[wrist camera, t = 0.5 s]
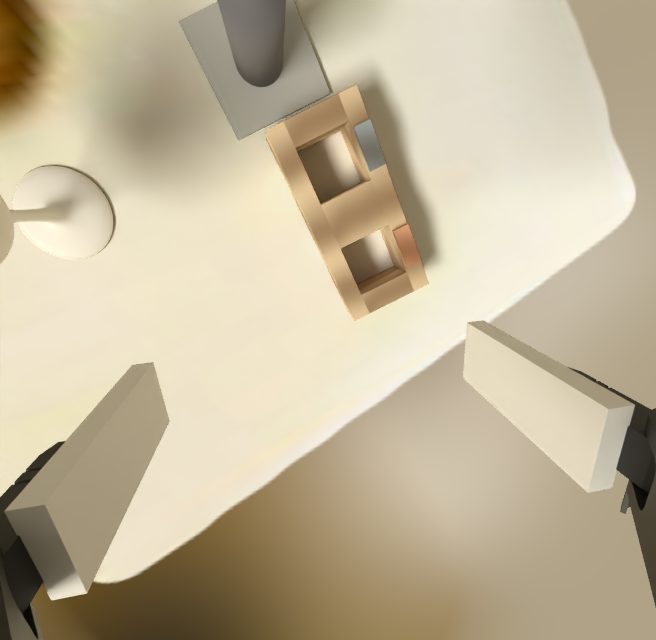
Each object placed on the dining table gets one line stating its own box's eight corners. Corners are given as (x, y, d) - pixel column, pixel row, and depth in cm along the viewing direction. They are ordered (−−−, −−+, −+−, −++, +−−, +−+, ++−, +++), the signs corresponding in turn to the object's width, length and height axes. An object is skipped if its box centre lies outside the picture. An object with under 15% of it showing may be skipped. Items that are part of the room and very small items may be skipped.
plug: (224, 43, 30) (198, -43, 20) (268, 20, 30) (264, -78, 20) (249, 95, 32) (236, 40, 21) (291, 74, 31) (298, 9, 21)
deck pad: (180, 23, 29) (178, 21, 29) (281, -28, 29) (281, -31, 29) (238, 140, 33) (238, 139, 33) (329, 94, 33) (330, 92, 32)
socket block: (266, 139, 33) (264, 129, 29) (347, 98, 33) (358, 81, 29) (347, 310, 40) (355, 322, 36) (414, 276, 40) (431, 284, 36)
